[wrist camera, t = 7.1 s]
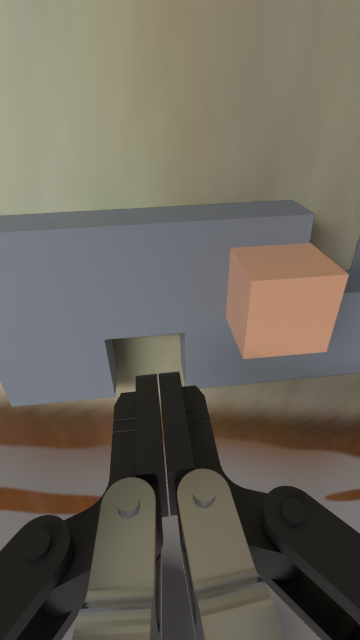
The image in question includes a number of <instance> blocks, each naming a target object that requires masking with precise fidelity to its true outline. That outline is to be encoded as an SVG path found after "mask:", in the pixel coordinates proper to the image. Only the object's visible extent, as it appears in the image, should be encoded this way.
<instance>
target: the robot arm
mask: <svg viewBox="0 0 360 640" xmlns="http://www.w3.org/2000/svg"><path fill="white" fill-rule="evenodd" d="M159 384H160V396H161V407H162V419H163V431H164V443H165V454H166V466H167V477H168V489H169V501H170V512H171V516H172V515H178V525H179V534H180V546H181V553H182V559H183V565H184V571H185V576H186V583H187V588H188V594H189V600H190V606H191V612H192V617H193V624H194V630H195V638H196V640H285V637H284V634H283V631H282V628H281V625H280V622H279V619H278V616H277V613H276V610H275V607H274V604H273V601H272V598H271V596H270V594H269V591H268V588H267V587H266V585H265V583H266V584H267V585H268V586H269V587H270V588H271V589H272V590H273V591H274V592H275V593H276V594H277V595H278V596H279V597H280V598H281V599H282V600H283V601H284V602H285V603H286V604H287V605H288V606H289V607H290V608H291V609H292V610H293V611H294V612H295V613H296V614H297V615H298V616H299V617H300V618H301V619H302V620H303V621H304V622H305V623H306V624H307V625H308V626H309V627H310V628H311V629H312V630H313V631H314V632H315V633H316V634H317V635H318V636H319V637H320V638H321V639H322V640H360V534H359V533H358V532H357V531H355V530H354V529H353V528H352V527H350V526H349V525H347V524H346V523H345V522H344V521H342V520H341V519H340V518H338V517H337V516H336V515H334V514H333V513H332V512H330V511H329V510H328V509H326V508H325V507H324V506H322V505H321V504H320V503H318V502H317V501H316V500H315V499H313V498H312V497H311V496H309V495H308V494H307V493H305V492H304V491H302V490H300V489H297V488H295V487H291V486H280V487H277V488H274V489H273V490H272V491H270V492H269V493H268V494H267V493H263V492H258V491H253V490H249V489H245V488H242V487H240V486H238V485H236V484H234V483H233V482H232V481H231V480H229V478H228V477H227V476H226V475H225V474H224V472H223V470H222V468H221V465H220V461H219V457H218V452H217V449H216V444H215V440H214V435H213V431H212V427H211V423H210V418H209V414H208V409H207V405H206V401H205V396H204V395H203V394H202V392H201V391H200V390H199V389H198V387H197V386H196V385H194V386H184V387H182V385H181V379H180V373H179V372H170V373H160V374H159ZM166 516H168V504H167V491H166V478H165V465H164V454H163V440H162V428H161V416H160V404H159V393H158V382H157V374H151V375H141V376H136V392H127V393H121V395H120V397H119V398H118V400H117V402H116V404H115V406H114V422H113V435H112V451H111V465H110V479H109V483H108V487H107V489H106V491H105V493H104V494H103V496H102V497H101V498H100V499H99V501H97V502H96V503H95V504H94V505H93V506H91V507H90V508H88V509H87V510H85V511H83V512H81V513H79V514H76V515H74V516H72V517H70V518H68V519H66V520H64V521H63V520H62V519H61V518H59V517H57V516H54V515H44V516H40V517H38V518H35V519H33V520H32V521H30V522H28V523H27V524H26V525H24V526H23V527H22V528H21V530H19V531H18V533H17V534H16V535H15V536H14V537H13V538H12V539H11V540H10V541H9V542H8V543H7V544H6V546H5V547H4V548H3V549H2V550H1V551H0V640H61V639H62V638H63V637H64V635H65V634H66V632H67V631H68V629H69V628H70V626H71V625H72V623H73V622H74V620H75V619H76V617H77V619H76V623H75V628H74V633H73V638H72V640H162V638H161V609H162V608H161V606H162V601H161V600H162V594H161V593H162V546H163V529H162V517H166ZM258 575H259V576H260V577H261V578H260V577H259V576H258ZM264 582H265V583H264Z"/></svg>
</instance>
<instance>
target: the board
mask: <svg viewBox="0 0 360 640" xmlns="http://www.w3.org/2000/svg"><path fill="white" fill-rule="evenodd" d="M314 216H315V214H314V213H312V212H311V211H309V210H307V209H306V208H304V207H303V206H301V205H300V204H298V203H297V202H295V201H293V200H283V201H265V202H246V203H228V204H209V205H191V206H173V207H154V208H136V209H117V210H99V211H81V212H62V213H44V214H25V215H7V216H0V381H1V384H2V386H3V388H4V390H5V392H6V395H7V397H8V399H9V401H10V403H11V406H12V407H14V406H24V405H35V404H45V403H55V402H65V401H76V400H86V399H96V398H107V397H115V392H116V378H117V363H116V358H115V352H114V346H113V341H112V339H120V338H132V337H144V336H156V335H167V334H179V333H180V335H181V363H182V369H183V375H184V381H185V386H194V385H196V386H197V387H198V389H199V388H209V387H220V386H230V385H240V384H250V383H261V382H271V381H281V380H292V379H302V378H312V377H322V376H333V375H343V374H353V373H360V238H359V241H358V245H357V248H356V252H355V255H354V259H353V262H352V266H351V269H350V270H348V271H345V272H347V273H348V274H349V276H348V280H347V283H346V287H345V290H344V294H343V297H342V300H341V304H340V307H339V311H338V314H337V318H336V321H335V324H334V328H333V331H332V335H331V338H330V342H329V345H328V348H327V352H319V353H308V354H297V355H285V356H274V357H263V358H252V359H243V358H242V356H241V353H240V351H239V348H238V346H237V343H236V341H235V338H234V336H233V334H232V331H231V329H230V326H229V324H228V321H227V319H226V306H227V291H228V277H229V262H230V248H234V247H250V246H267V245H283V244H299V243H309V241H310V236H311V231H312V226H313V221H314Z"/></svg>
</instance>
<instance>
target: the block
mask: <svg viewBox="0 0 360 640" xmlns="http://www.w3.org/2000/svg"><path fill="white" fill-rule="evenodd" d="M348 276H349V274H348V273H347V272H345V271H344V270H343V269H342V268H341V267H339V266H338V265H337V264H336V263H334V262H333V261H332V260H331V259H330V258H328V257H327V256H326V255H325V254H324V253H322V252H321V251H320V250H319V249H317V248H316V247H315V246H314V245H313V244H311V243H299V244H283V245H267V246H250V247H234V248H230V262H229V277H228V291H227V306H226V319H227V321H228V324H229V326H230V329H231V331H232V334H233V336H234V338H235V341H236V343H237V346H238V348H239V351H240V353H241V356H242V358H243V359H252V358H263V357H274V356H285V355H297V354H308V353H319V352H327V348H328V345H329V342H330V338H331V335H332V331H333V328H334V324H335V321H336V318H337V314H338V311H339V307H340V304H341V300H342V297H343V294H344V290H345V287H346V283H347V280H348Z"/></svg>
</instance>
